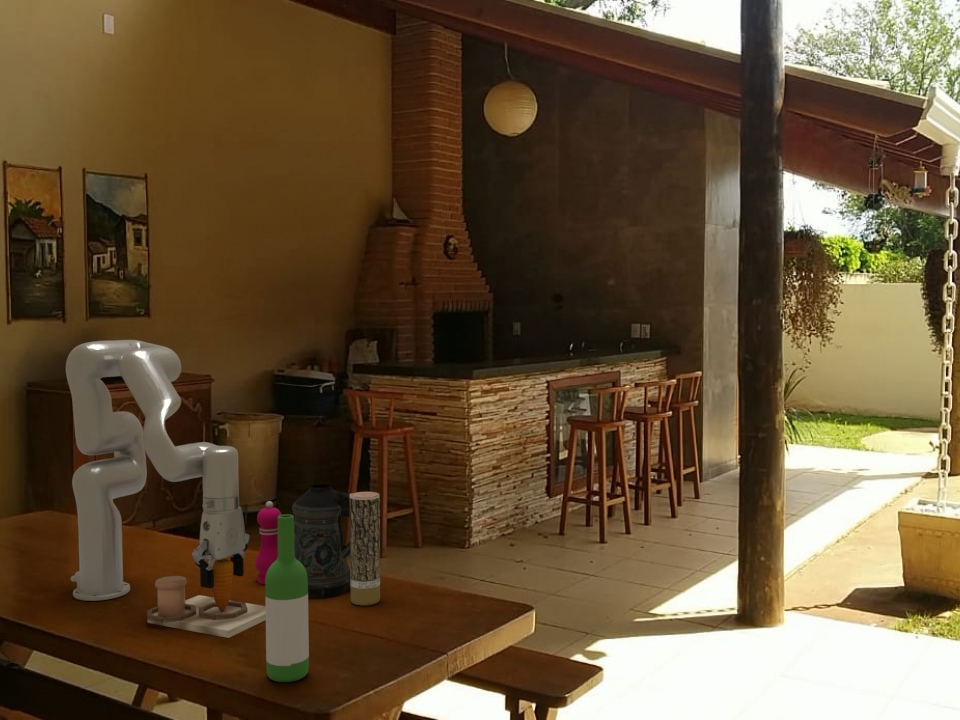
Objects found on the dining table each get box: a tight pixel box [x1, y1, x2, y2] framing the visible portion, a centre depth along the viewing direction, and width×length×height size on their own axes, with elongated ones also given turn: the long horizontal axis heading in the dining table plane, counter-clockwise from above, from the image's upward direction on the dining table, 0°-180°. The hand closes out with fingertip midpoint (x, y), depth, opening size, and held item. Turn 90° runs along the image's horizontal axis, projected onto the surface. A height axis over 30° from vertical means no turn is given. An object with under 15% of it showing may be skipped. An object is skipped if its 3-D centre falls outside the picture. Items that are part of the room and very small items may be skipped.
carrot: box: [211, 558, 234, 612], centre depth 208 cm, size 5×5×15 cm
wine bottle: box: [264, 513, 310, 683], centre depth 176 cm, size 8×8×30 cm
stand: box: [146, 594, 266, 639], centre depth 207 cm, size 23×18×2 cm
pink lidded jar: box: [154, 575, 188, 617], centre depth 206 cm, size 6×6×8 cm
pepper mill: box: [254, 500, 283, 586], centre depth 235 cm, size 7×7×20 cm
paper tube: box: [349, 491, 381, 607], centre depth 219 cm, size 7×7×25 cm
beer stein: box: [291, 484, 351, 599], centre depth 230 cm, size 16×19×25 cm
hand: (222, 581), depth 208 cm, fingers open, 9 cm apart
